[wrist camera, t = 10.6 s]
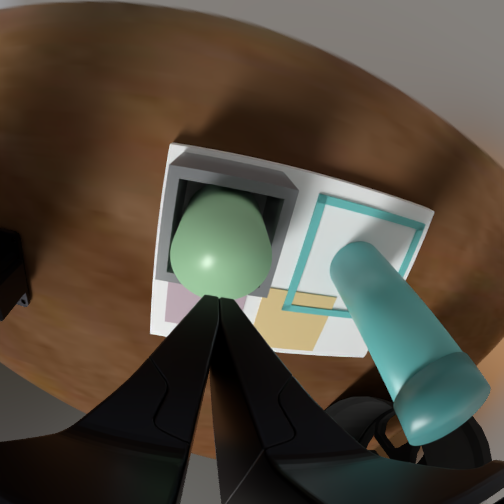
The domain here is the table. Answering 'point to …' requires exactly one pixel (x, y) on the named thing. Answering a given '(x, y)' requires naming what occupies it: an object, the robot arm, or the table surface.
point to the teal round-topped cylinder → (408, 346)
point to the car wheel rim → (435, 453)
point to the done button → (221, 244)
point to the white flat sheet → (307, 259)
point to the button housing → (231, 176)
